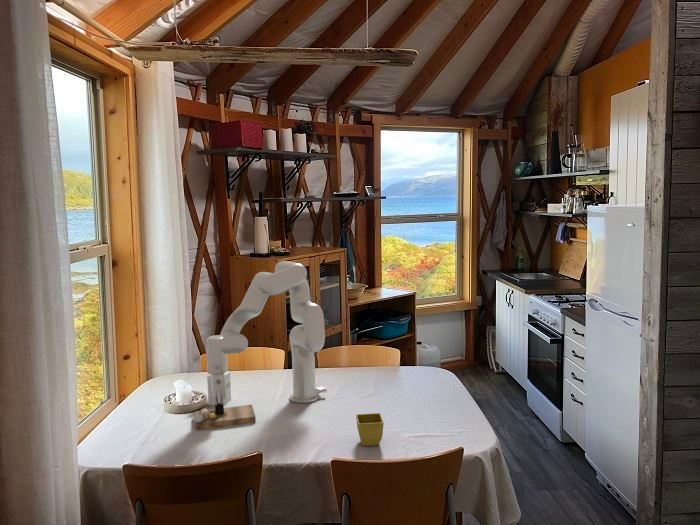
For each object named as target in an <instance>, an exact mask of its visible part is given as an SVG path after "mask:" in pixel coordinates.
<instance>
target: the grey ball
mask: <svg viewBox="0 0 700 525" xmlns="http://www.w3.org/2000/svg"><path fill="white" fill-rule="evenodd" d="M193 420H194V422H195V423H196V422H197V423H200V422H201V421H202V420H203V416H202V415H201V414H197V415H195V416H194V417H193Z"/></svg>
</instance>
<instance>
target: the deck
mask: <svg viewBox="0 0 700 525" xmlns="http://www.w3.org/2000/svg"><path fill="white" fill-rule="evenodd" d="M207 408H208V407H207ZM207 408H206V407H205V408H201V410H198V411H195V413H194V414H195V415H197V414H201V415H202V416H203V420H202V421H201V422H200V423H197V422H195V431H196V430H198V431H203V430H202V429H206V430H211V429H212V428H213V429H219V428H226V427H234V426H241V425H250V424H256V420H257V419H256V414H255V411H254V407H253V404H246V405H236V406H230V407H224V414H222V415H217V417H216V418H209V416H210V414H212V413H215V408H214V409H213V408H212V409H207ZM213 429H212V430H213Z"/></svg>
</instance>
